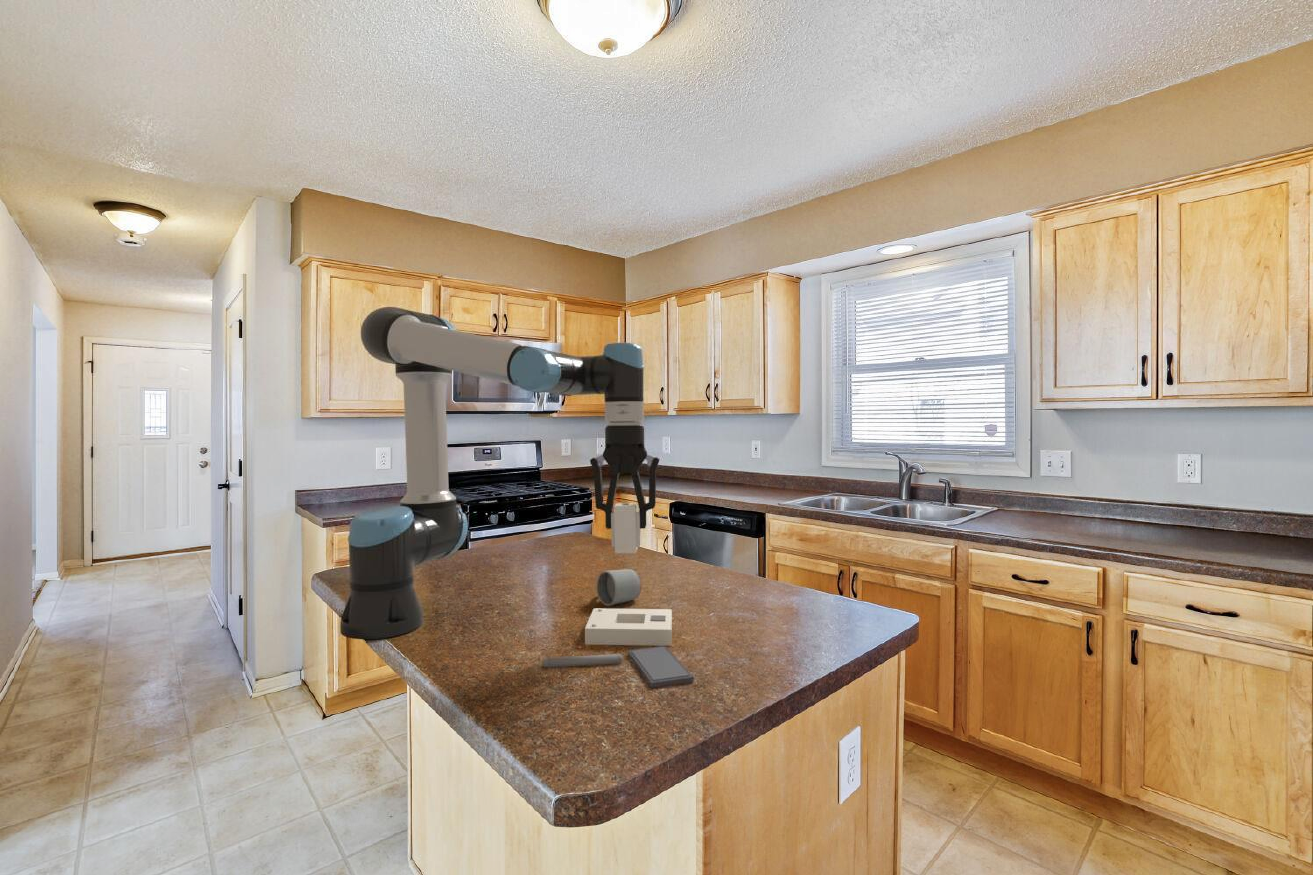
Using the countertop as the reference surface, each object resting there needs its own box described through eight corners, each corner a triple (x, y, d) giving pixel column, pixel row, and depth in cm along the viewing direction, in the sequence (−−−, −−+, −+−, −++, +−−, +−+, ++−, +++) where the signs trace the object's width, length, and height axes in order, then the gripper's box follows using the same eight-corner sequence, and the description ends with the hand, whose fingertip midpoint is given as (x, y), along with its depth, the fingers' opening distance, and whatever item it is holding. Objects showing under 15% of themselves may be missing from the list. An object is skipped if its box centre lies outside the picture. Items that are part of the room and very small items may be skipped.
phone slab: (651, 687, 95) (651, 682, 95) (627, 654, 108) (627, 649, 108) (693, 681, 97) (693, 676, 97) (665, 650, 110) (665, 645, 110)
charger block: (614, 553, 116) (614, 505, 116) (617, 548, 120) (616, 502, 120) (635, 553, 116) (635, 504, 116) (637, 548, 120) (636, 502, 120)
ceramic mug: (644, 602, 139) (643, 568, 139) (615, 609, 134) (615, 574, 134) (616, 593, 147) (616, 561, 147) (588, 599, 142) (587, 566, 142)
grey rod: (542, 669, 102) (542, 660, 102) (542, 665, 104) (542, 656, 104) (623, 665, 104) (623, 655, 104) (622, 661, 106) (622, 652, 106)
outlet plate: (584, 644, 113) (584, 627, 113) (593, 622, 125) (593, 607, 125) (671, 645, 113) (671, 628, 113) (671, 623, 125) (671, 608, 125)
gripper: (577, 425, 114) (579, 549, 115) (668, 423, 113) (670, 549, 114) (583, 424, 122) (585, 541, 122) (669, 423, 121) (670, 541, 121)
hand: (626, 545), depth 118 cm, fingers closed on charger block, 4 cm apart
